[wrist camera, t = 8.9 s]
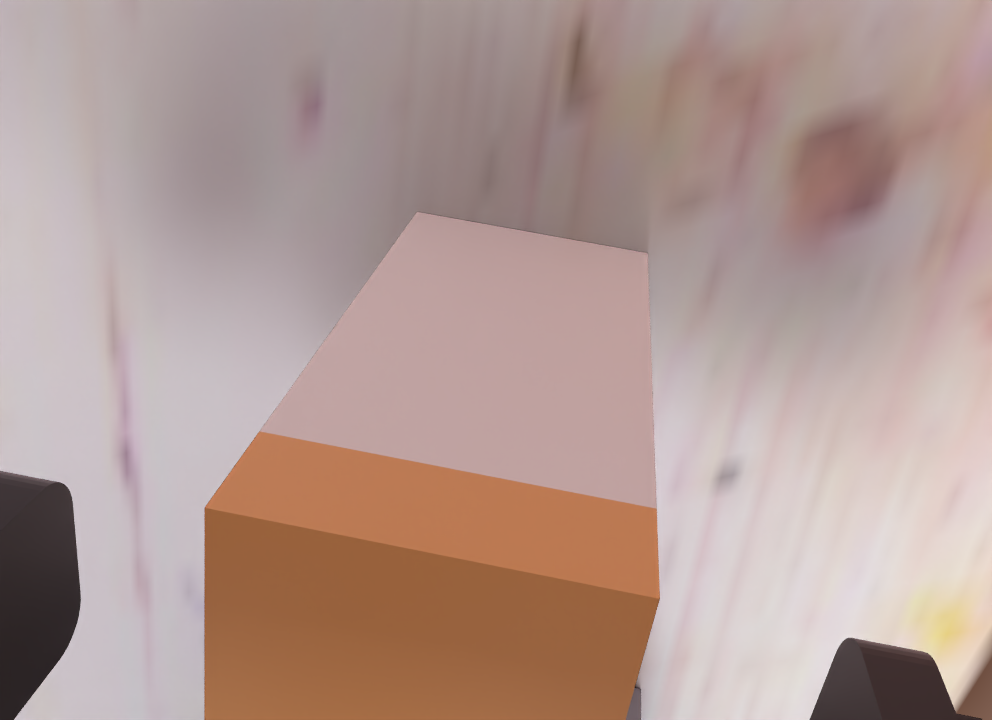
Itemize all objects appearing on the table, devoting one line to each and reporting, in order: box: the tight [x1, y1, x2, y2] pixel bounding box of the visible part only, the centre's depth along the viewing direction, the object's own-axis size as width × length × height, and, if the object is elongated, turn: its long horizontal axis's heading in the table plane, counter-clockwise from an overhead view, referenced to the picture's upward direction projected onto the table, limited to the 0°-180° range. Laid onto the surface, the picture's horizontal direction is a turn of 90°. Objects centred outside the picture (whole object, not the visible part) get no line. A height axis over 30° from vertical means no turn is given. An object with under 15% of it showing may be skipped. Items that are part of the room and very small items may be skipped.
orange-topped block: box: [205, 212, 660, 720], centre depth 12 cm, size 4×4×8 cm
